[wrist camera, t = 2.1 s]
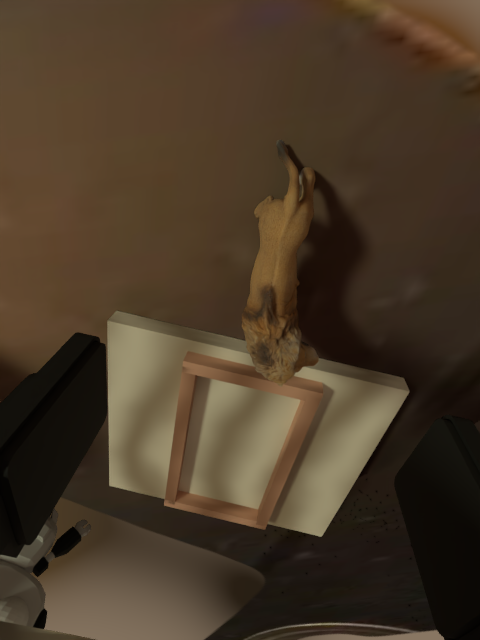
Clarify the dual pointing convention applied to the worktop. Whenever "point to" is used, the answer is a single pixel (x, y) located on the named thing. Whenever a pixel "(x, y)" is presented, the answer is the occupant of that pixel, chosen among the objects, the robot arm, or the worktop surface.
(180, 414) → the base plate
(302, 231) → the lion figurine
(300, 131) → the worktop surface
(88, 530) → the robot toy
